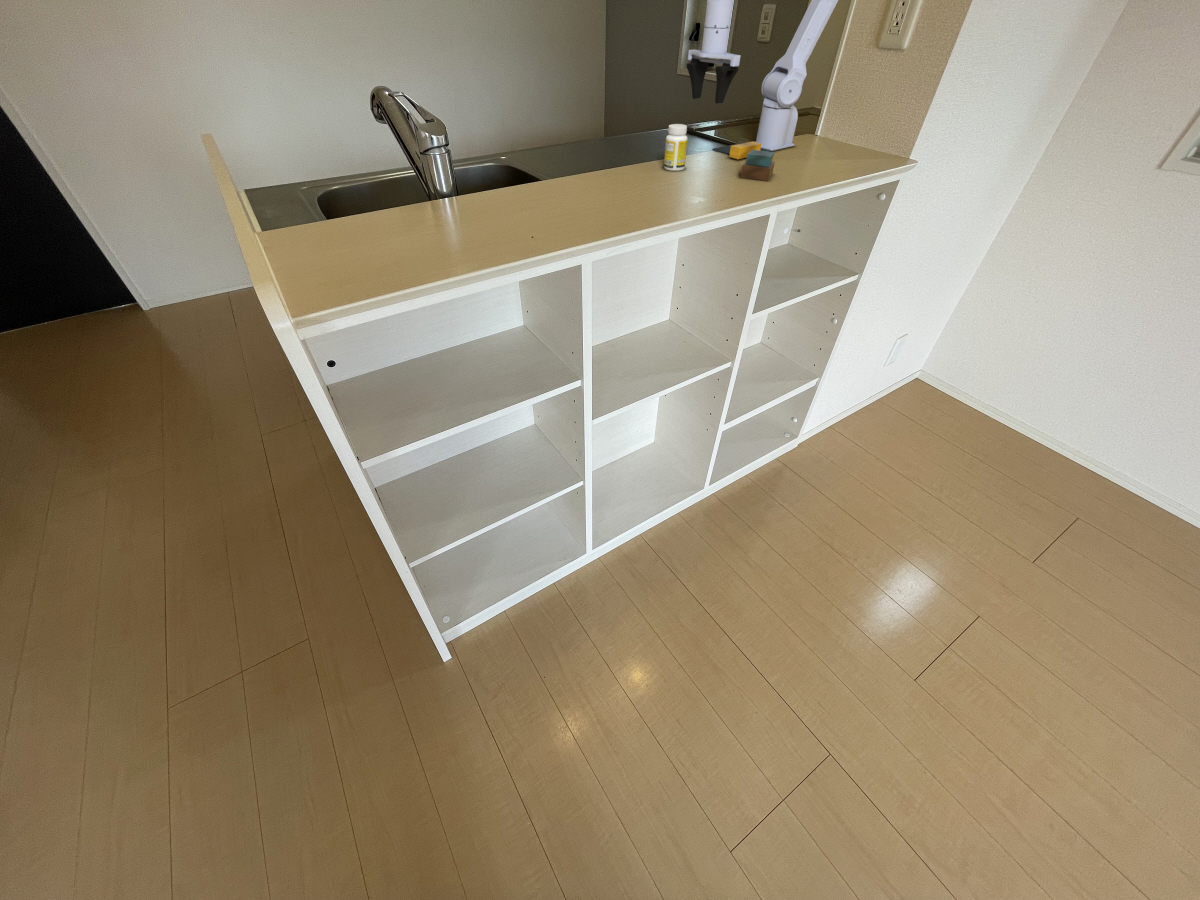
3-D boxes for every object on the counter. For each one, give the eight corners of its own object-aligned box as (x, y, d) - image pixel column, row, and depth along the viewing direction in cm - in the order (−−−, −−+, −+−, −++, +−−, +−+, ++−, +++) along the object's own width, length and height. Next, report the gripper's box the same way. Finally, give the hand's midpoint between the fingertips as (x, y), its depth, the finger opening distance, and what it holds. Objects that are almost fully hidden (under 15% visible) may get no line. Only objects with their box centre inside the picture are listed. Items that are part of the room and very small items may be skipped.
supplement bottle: (684, 166, 118) (688, 123, 112) (684, 171, 114) (689, 128, 108) (663, 165, 118) (667, 123, 112) (663, 170, 114) (667, 127, 109)
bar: (737, 159, 121) (739, 148, 120) (729, 157, 123) (730, 145, 121) (759, 154, 125) (761, 143, 123) (750, 152, 126) (752, 141, 125)
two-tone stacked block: (740, 177, 111) (744, 154, 108) (745, 170, 115) (749, 148, 112) (767, 181, 109) (772, 157, 106) (772, 174, 113) (777, 151, 110)
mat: (748, 142, 135) (749, 141, 135) (778, 150, 129) (779, 148, 129) (712, 149, 129) (712, 148, 129) (742, 158, 123) (742, 156, 123)
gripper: (681, 26, 115) (674, 97, 125) (729, 30, 107) (718, 106, 116) (703, 25, 118) (695, 95, 128) (751, 29, 110) (738, 103, 119)
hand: (707, 100), depth 122 cm, fingers open, 7 cm apart
